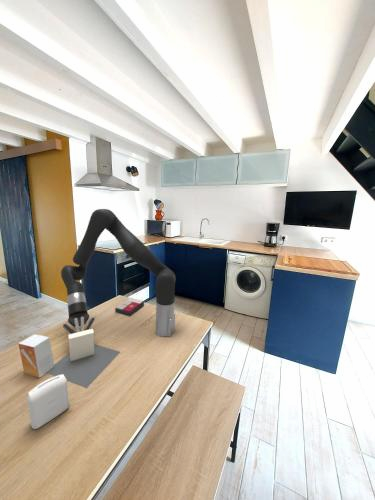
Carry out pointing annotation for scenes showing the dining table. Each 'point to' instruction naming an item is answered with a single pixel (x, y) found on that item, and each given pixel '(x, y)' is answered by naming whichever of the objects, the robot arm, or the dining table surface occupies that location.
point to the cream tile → (81, 344)
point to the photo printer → (48, 400)
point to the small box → (36, 355)
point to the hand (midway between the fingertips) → (81, 343)
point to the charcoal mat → (84, 366)
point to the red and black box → (129, 307)
